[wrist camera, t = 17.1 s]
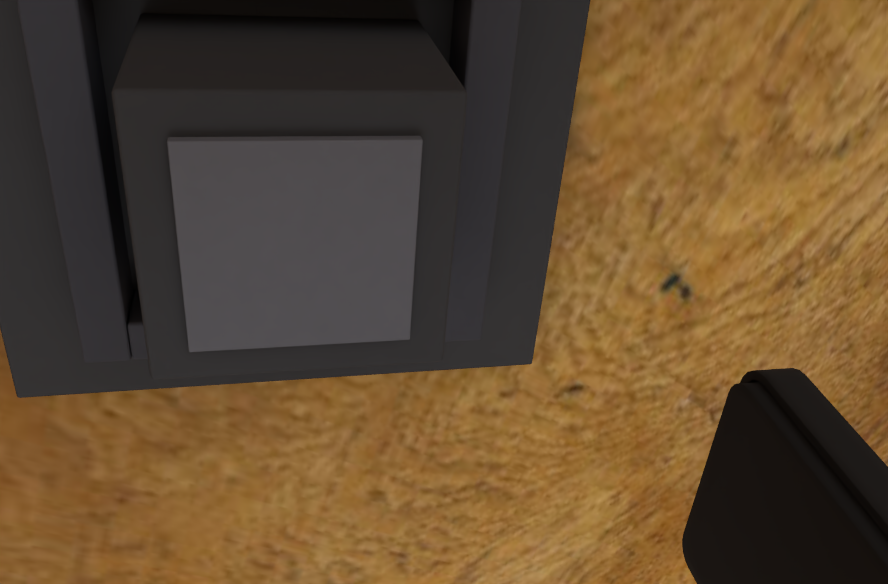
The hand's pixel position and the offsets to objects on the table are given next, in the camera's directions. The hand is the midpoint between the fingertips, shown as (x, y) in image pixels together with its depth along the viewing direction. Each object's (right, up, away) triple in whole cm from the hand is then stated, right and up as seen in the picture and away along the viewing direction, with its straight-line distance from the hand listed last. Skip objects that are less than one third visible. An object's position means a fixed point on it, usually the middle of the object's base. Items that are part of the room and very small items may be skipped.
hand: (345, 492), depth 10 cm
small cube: (-2, +6, +9) cm, 10 cm away
